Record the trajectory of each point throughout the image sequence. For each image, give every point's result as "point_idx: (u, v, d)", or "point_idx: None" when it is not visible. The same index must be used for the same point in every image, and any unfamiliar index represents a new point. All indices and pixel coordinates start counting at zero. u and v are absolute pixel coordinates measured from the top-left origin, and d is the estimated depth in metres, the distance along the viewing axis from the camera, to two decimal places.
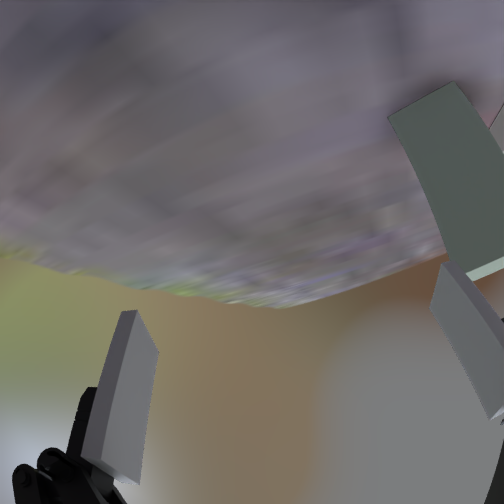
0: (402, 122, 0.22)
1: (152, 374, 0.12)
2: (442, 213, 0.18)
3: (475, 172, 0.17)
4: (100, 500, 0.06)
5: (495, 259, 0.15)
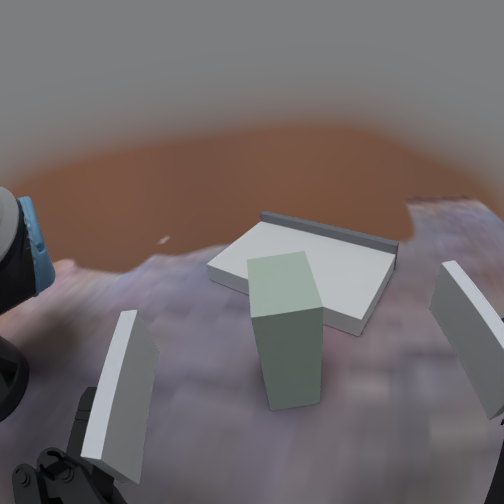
0: None
1: (152, 374, 0.12)
2: None
3: None
4: (100, 500, 0.06)
5: (249, 289, 0.24)
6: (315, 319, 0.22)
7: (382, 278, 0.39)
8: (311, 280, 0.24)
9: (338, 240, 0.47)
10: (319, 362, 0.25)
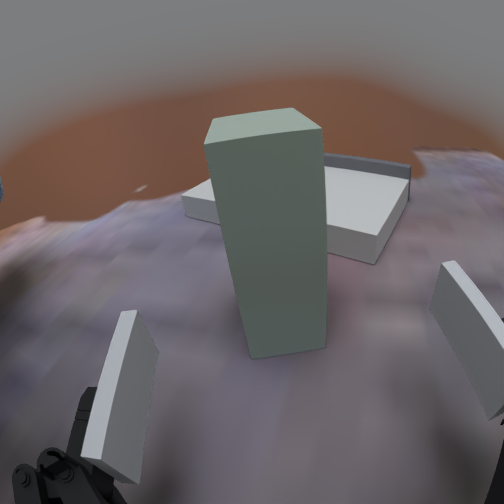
0: None
1: (152, 374, 0.12)
2: None
3: None
4: (100, 500, 0.06)
5: (209, 131, 0.15)
6: (311, 155, 0.13)
7: (397, 198, 0.30)
8: (302, 117, 0.15)
9: (338, 168, 0.39)
10: (323, 256, 0.16)
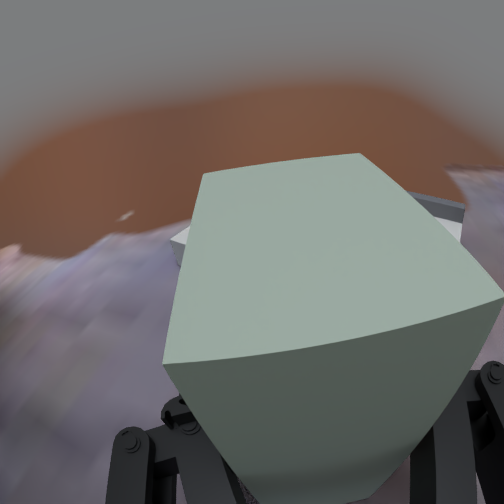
0: None
1: None
2: None
3: None
4: (222, 461, 0.07)
5: (190, 239, 0.06)
6: (459, 354, 0.04)
7: None
8: (414, 208, 0.06)
9: None
10: (404, 455, 0.07)
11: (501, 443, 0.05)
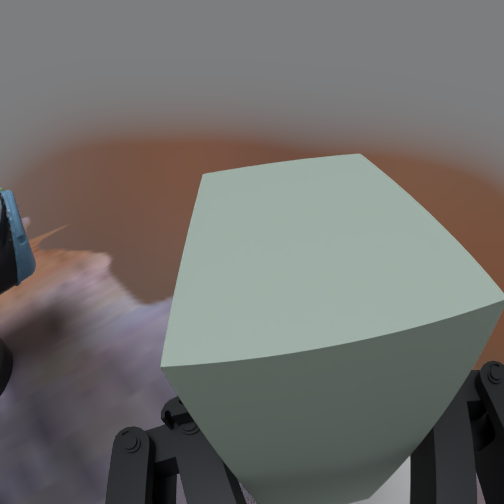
0: None
1: None
2: None
3: None
4: (222, 460, 0.07)
5: (189, 240, 0.06)
6: (460, 357, 0.04)
7: None
8: (414, 209, 0.06)
9: None
10: (404, 457, 0.07)
11: (501, 443, 0.05)
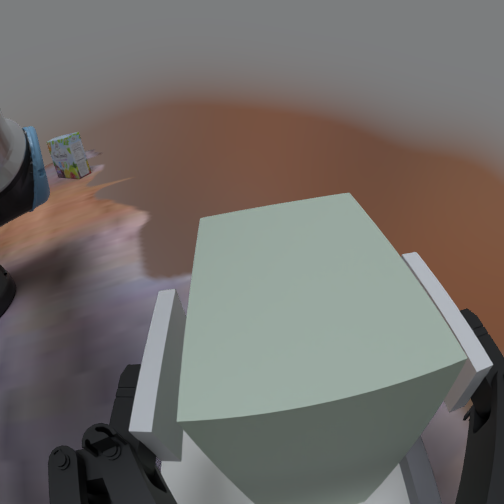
0: None
1: None
2: None
3: None
4: (146, 481, 0.06)
5: (191, 298, 0.07)
6: (425, 400, 0.05)
7: None
8: (394, 263, 0.07)
9: None
10: (390, 468, 0.08)
11: None
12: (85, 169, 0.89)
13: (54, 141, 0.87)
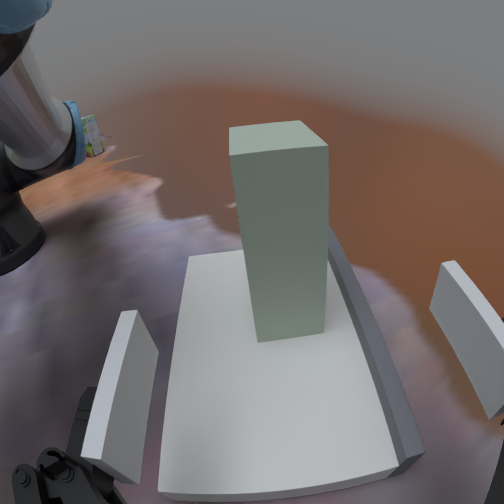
0: None
1: (152, 374, 0.12)
2: None
3: None
4: (100, 500, 0.06)
5: (230, 141, 0.18)
6: (318, 167, 0.16)
7: (297, 486, 0.14)
8: (310, 133, 0.18)
9: (359, 350, 0.21)
10: (324, 252, 0.19)
11: None
12: (99, 148, 0.99)
13: None
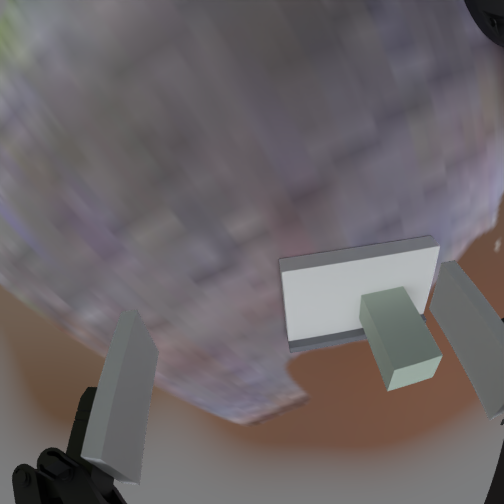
0: (369, 299, 0.43)
1: (152, 374, 0.12)
2: (387, 342, 0.36)
3: (407, 327, 0.38)
4: (100, 500, 0.06)
5: (416, 363, 0.33)
6: (385, 382, 0.36)
7: (287, 315, 0.46)
8: (407, 384, 0.35)
9: (344, 330, 0.48)
10: (373, 353, 0.41)
11: None
12: None
13: None
